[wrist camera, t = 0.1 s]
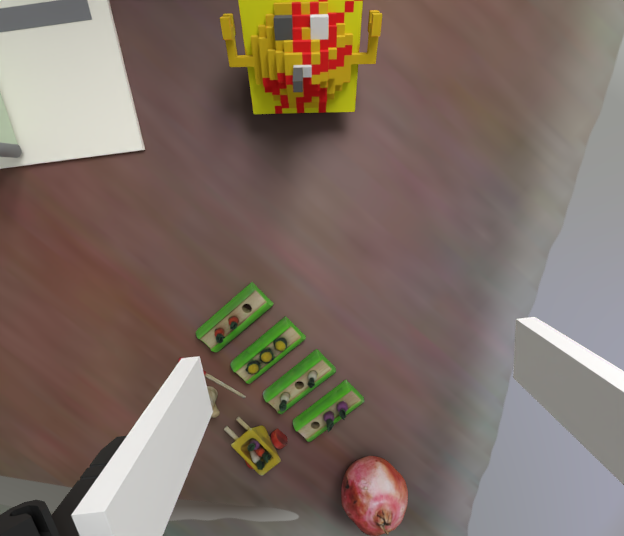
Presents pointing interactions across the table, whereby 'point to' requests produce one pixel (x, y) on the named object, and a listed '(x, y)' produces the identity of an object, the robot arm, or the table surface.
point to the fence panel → (7, 135)
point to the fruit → (374, 495)
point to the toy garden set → (286, 389)
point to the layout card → (64, 81)
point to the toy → (301, 53)
